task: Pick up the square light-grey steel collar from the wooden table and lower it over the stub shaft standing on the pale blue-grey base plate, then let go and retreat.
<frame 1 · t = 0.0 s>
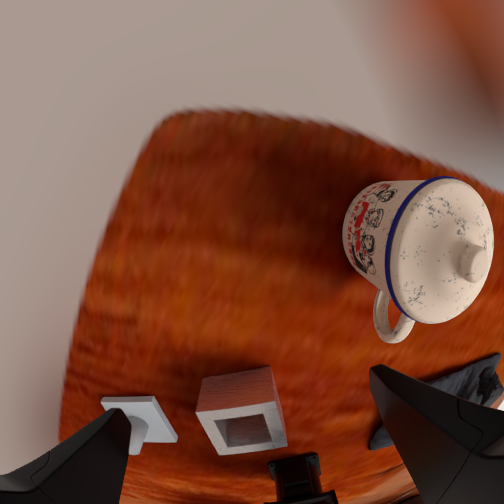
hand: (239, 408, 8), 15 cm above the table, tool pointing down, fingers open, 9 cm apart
teacup with lid: (380, 247, 22), on the table
collar: (244, 396, 25), on the table
shaft base: (140, 418, 26), on the table
dark slate chunk: (440, 401, 28), on the table
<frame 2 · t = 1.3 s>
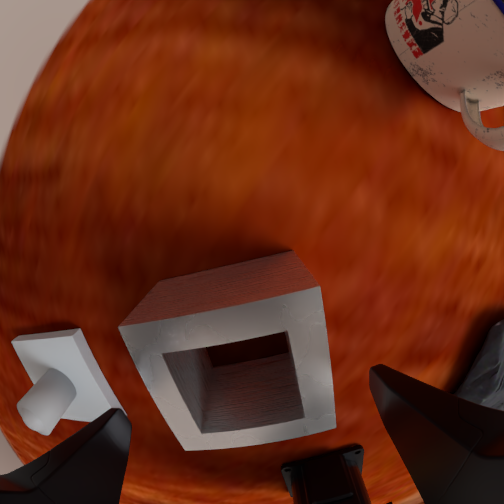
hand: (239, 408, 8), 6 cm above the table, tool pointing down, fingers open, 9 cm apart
teacup with lid: (439, 69, 11), on the table
collar: (240, 327, 14), on the table
shaft base: (67, 376, 15), on the table
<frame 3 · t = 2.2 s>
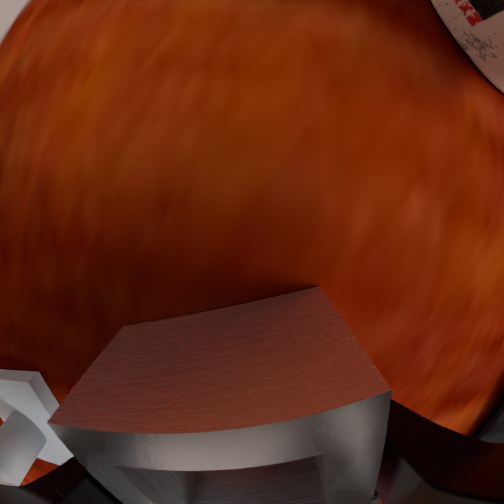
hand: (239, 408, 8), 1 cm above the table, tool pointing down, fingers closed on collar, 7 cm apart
teacup with lid: (487, 48, 6), on the table
collar: (240, 389, 9), on the table, touching gripper
shaft base: (36, 418, 10), on the table
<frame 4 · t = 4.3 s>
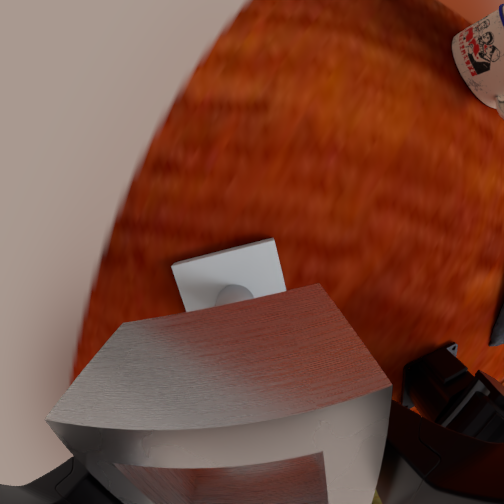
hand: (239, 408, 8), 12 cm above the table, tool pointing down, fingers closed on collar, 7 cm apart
teacup with lid: (479, 81, 16), on the table
collar: (239, 387, 9), point 11 cm above the table, touching gripper
shaft base: (236, 297, 20), on the table
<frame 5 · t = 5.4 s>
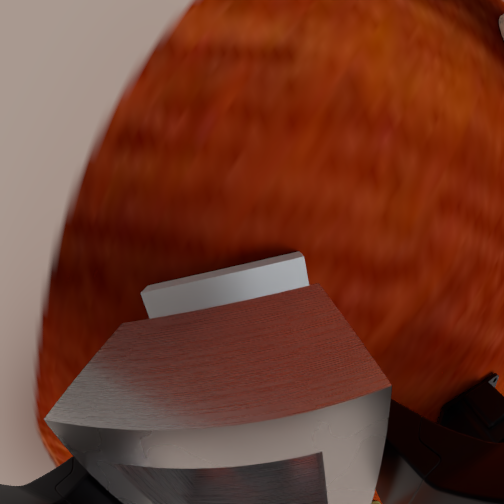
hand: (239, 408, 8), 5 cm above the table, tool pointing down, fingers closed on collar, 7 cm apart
collar: (239, 387, 9), point 4 cm above the table, touching gripper
shaft base: (239, 338, 13), on the table
when the fingers open (3 cm above the table, at t = 6.3 s): collar stays where it is, resting on shaft base.
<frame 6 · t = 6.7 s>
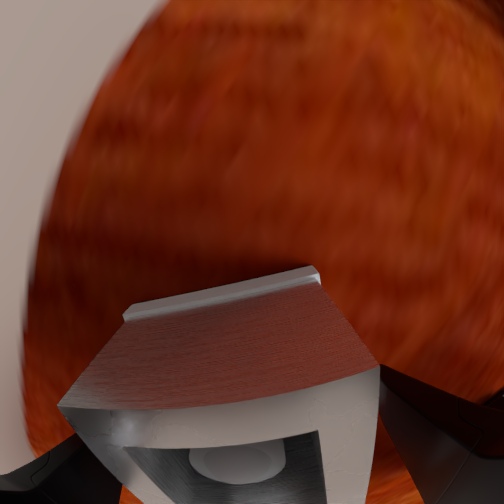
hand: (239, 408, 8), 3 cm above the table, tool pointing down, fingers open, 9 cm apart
collar: (240, 378, 10), point 1 cm above the table, touching shaft base
shaft base: (240, 365, 11), on the table
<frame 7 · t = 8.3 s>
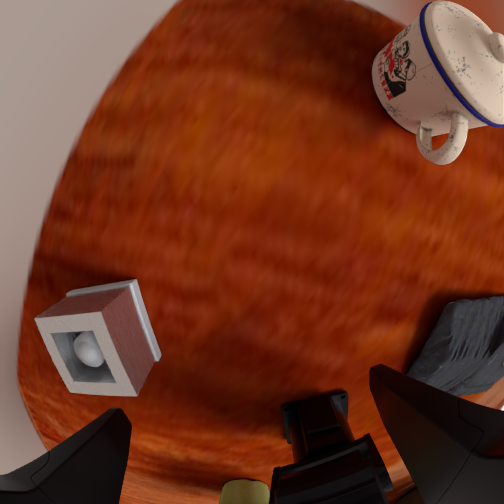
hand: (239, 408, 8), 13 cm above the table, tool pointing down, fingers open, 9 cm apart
teacup with lid: (410, 103, 18), on the table
collar: (109, 327, 20), point 1 cm above the table, touching shaft base
pitcher: (417, 492, 32), on the table
shaft base: (114, 323, 21), on the table
dark slate chunk: (473, 344, 24), on the table
plant pot: (245, 486, 27), on the table
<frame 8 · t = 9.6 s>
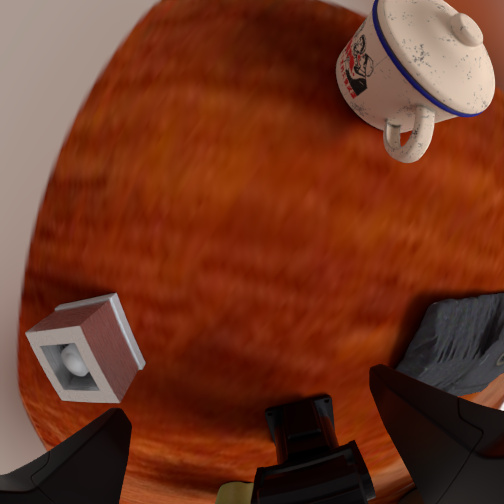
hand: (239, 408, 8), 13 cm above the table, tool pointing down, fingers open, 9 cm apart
teacup with lid: (380, 100, 18), on the table
collar: (95, 338, 21), point 1 cm above the table, touching shaft base
pitcher: (420, 490, 32), on the table
shaft base: (100, 334, 22), on the table
dark slate chunk: (464, 343, 24), on the table
plant pot: (240, 488, 28), on the table
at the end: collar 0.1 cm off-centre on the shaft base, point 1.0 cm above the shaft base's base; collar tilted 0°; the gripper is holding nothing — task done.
